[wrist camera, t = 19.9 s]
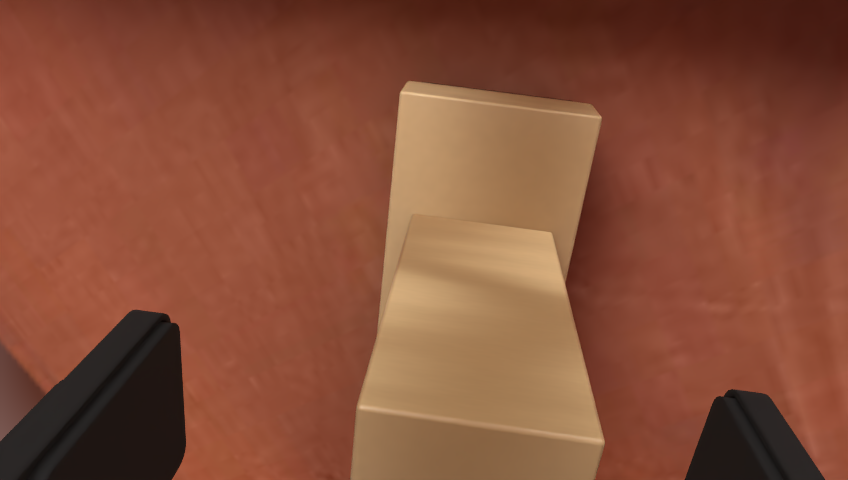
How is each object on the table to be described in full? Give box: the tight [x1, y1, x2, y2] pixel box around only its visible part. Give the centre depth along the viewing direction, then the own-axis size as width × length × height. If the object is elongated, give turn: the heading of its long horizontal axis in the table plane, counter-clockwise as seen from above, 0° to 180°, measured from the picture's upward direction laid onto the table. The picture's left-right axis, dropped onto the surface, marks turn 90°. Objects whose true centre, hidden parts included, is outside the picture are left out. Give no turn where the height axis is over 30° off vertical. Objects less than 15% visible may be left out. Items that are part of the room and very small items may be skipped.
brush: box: [350, 81, 605, 480], centre depth 13 cm, size 4×10×9 cm, turn 174°
